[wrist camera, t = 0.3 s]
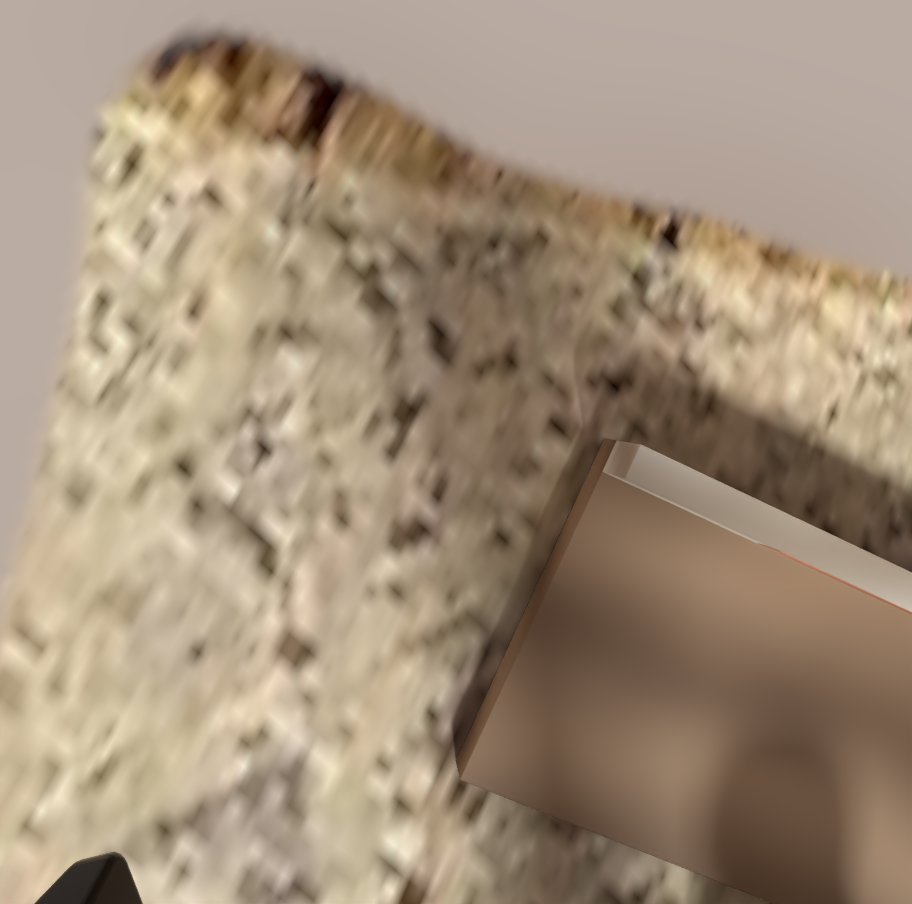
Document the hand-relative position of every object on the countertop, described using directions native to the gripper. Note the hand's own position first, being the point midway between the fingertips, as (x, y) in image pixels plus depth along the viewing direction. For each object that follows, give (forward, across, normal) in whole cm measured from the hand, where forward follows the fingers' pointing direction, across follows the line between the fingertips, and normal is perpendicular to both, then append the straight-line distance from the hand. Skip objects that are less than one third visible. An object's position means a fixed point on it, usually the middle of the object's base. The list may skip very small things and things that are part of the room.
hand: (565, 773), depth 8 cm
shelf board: (+12, -14, +14) cm, 23 cm away
